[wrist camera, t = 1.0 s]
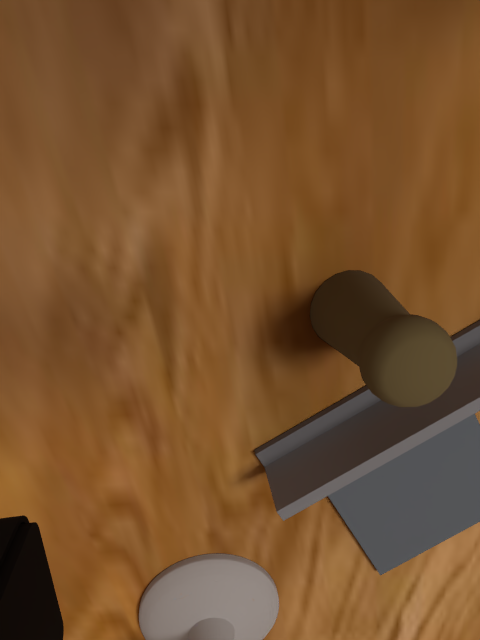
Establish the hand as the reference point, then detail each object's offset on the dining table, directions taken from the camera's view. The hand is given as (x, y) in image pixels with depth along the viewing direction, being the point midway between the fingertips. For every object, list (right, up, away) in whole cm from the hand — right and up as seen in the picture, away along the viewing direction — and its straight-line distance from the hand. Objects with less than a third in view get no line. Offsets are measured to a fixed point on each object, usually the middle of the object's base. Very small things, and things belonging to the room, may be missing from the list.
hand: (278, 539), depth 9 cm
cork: (+7, +5, +25) cm, 27 cm away
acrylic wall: (+11, -2, +28) cm, 30 cm away
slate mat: (+15, -10, +31) cm, 36 cm away
